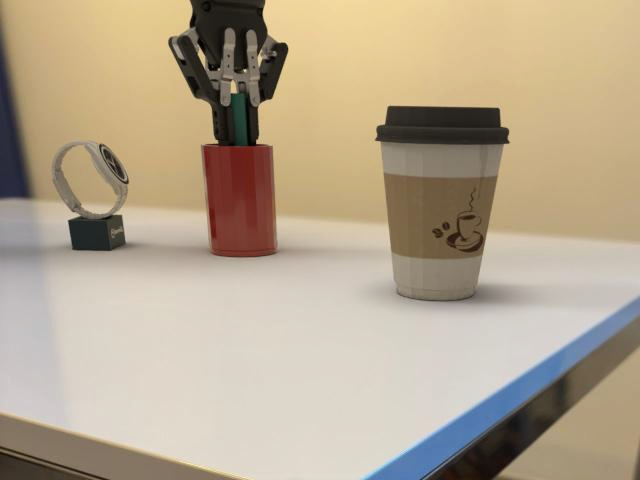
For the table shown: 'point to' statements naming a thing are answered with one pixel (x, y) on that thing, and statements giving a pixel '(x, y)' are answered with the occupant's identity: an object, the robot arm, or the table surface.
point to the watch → (91, 227)
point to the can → (240, 199)
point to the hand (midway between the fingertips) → (237, 145)
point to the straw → (239, 118)
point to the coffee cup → (439, 195)
